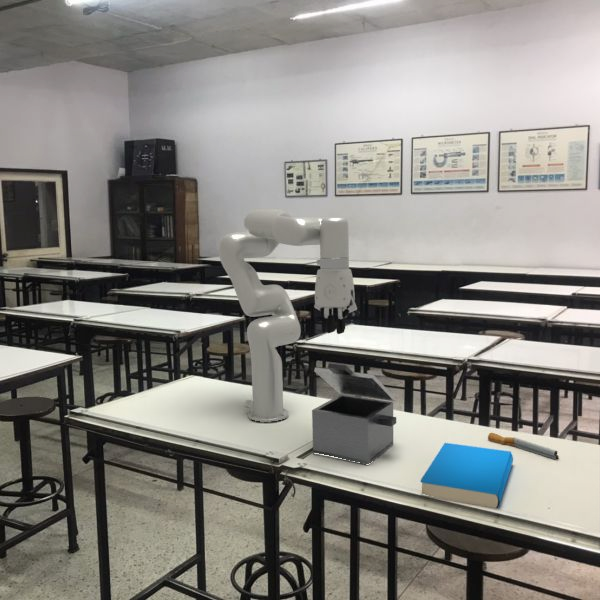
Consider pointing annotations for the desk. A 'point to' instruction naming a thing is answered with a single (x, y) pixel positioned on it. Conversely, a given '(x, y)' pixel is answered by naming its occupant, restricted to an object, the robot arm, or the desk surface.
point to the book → (468, 474)
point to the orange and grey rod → (523, 445)
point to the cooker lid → (354, 382)
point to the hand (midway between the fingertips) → (335, 332)
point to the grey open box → (353, 428)
